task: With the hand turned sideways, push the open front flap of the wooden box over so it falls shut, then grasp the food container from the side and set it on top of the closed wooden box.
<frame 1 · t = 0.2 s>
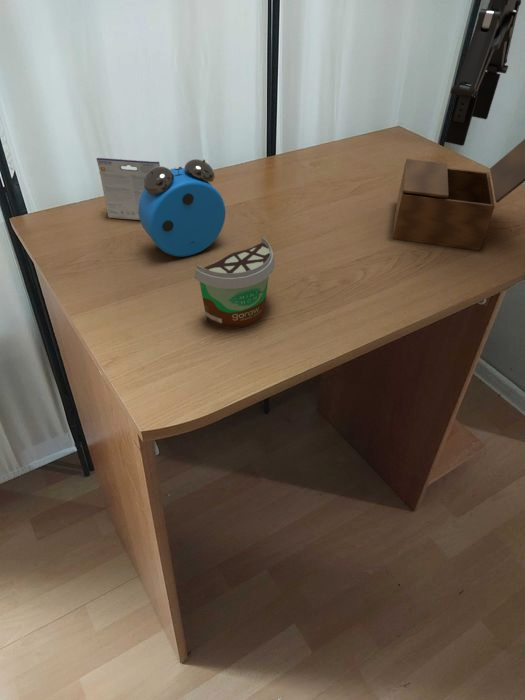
hand: (466, 129, 82), 20 cm above the table, tool pointing down, fingers open, 13 cm apart
food container: (244, 318, 79), on the table
wooden box: (435, 226, 99), on the table
alarm clock: (186, 249, 92), on the table
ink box: (139, 218, 99), on the table
flap: (512, 169, 89), point 12 cm above the table, hinge at 125.0°
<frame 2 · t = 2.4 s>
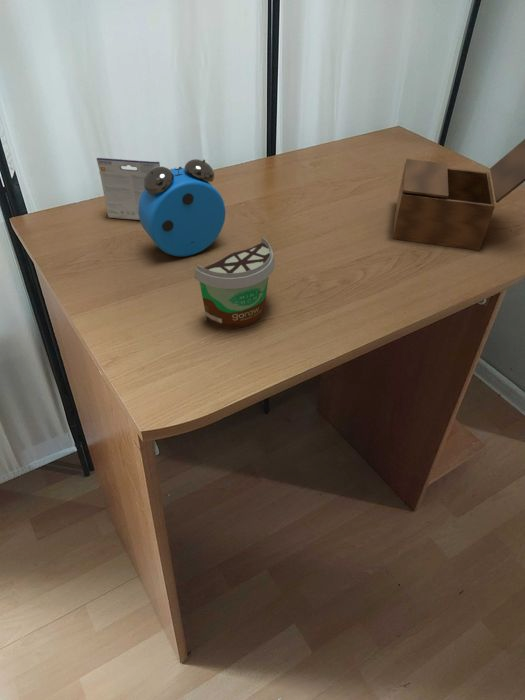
nothing on the table moved.
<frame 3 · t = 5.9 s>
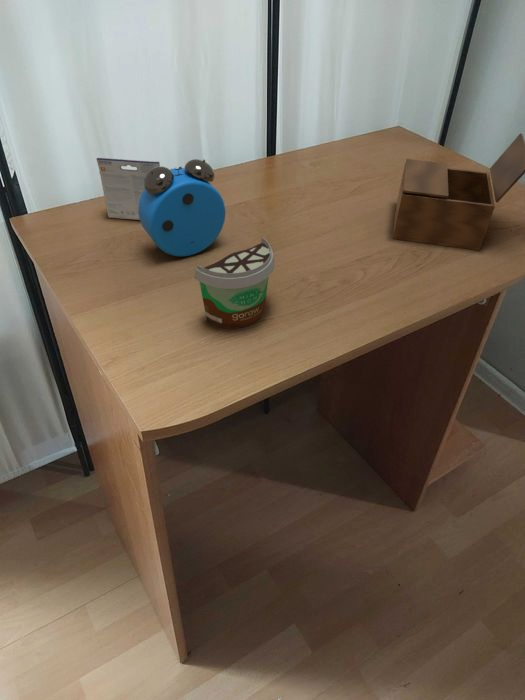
flap: (509, 167, 89), point 13 cm above the table, hinge at 114.5°, touching gripper
everything else where it was.
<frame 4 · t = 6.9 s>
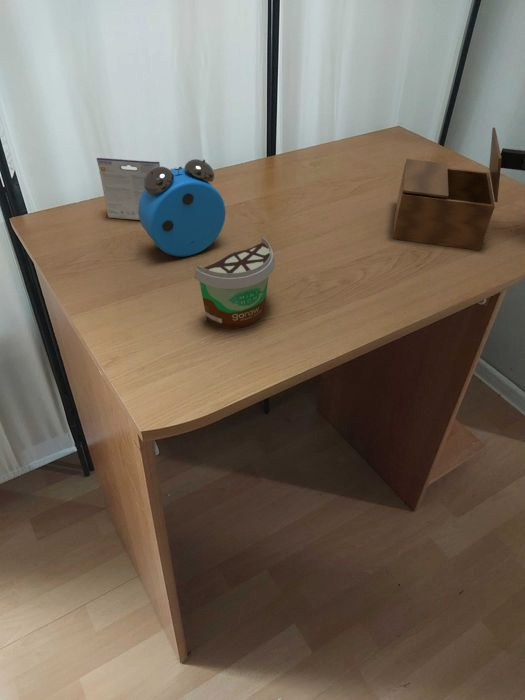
hand: (500, 158, 89), 14 cm above the table, tool horizontal, fingers closed
flap: (494, 163, 89), point 13 cm above the table, hinge at 77.5°, touching gripper
everything else where it was.
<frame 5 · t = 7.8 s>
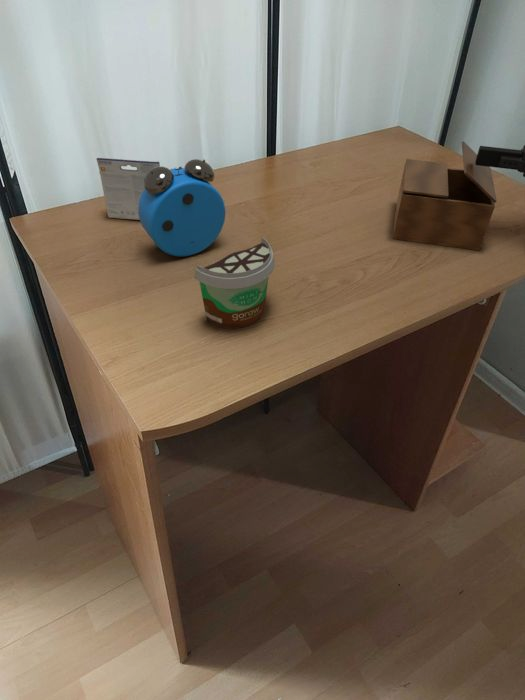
hand: (477, 155, 89), 14 cm above the table, tool horizontal, fingers closed
flap: (478, 170, 91), point 11 cm above the table, hinge at 35.7°, touching gripper
everything else where it was.
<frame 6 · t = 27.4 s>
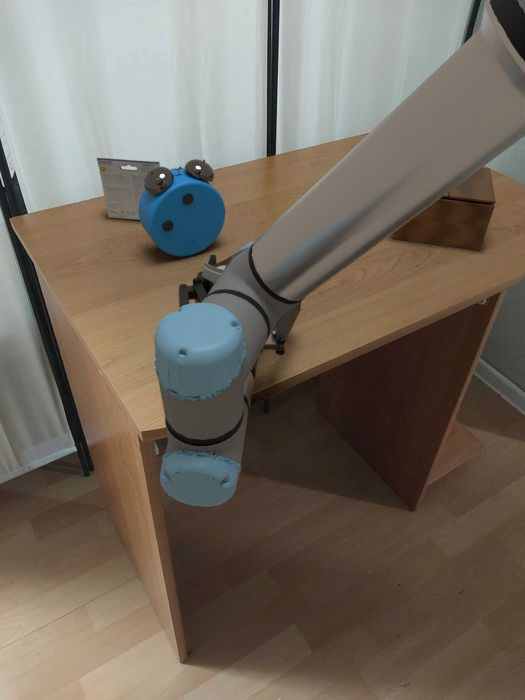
hand: (247, 265, 78), 6 cm above the table, tool horizontal, fingers closed on food container, 9 cm apart
food container: (251, 316, 79), on the table, touching gripper
flap: (470, 182, 92), point 9 cm above the table, hinge at -0.2°
everything else where it was.
when the fingers open (15 cm above the table, at t = 38.1 s): food container stays where it is, resting on wooden box.
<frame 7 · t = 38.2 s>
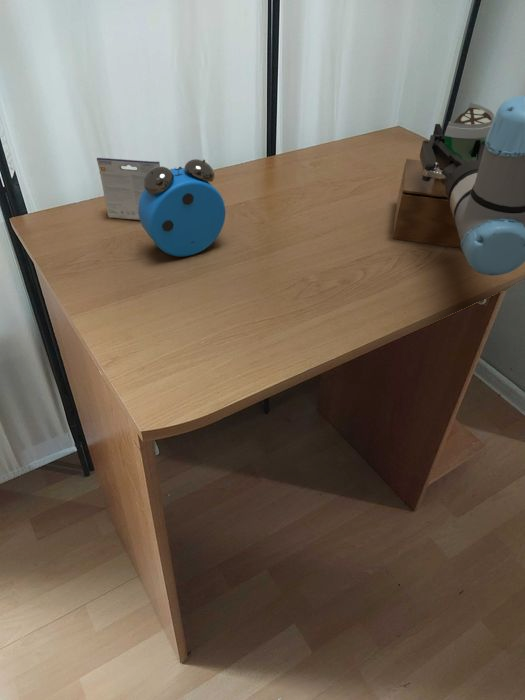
hand: (452, 132, 92), 15 cm above the table, tool horizontal, fingers open, 5 cm apart
food container: (460, 175, 94), point 9 cm above the table, touching wooden box
flap: (470, 183, 92), point 9 cm above the table, hinge at -1.4°
everything else where it was.
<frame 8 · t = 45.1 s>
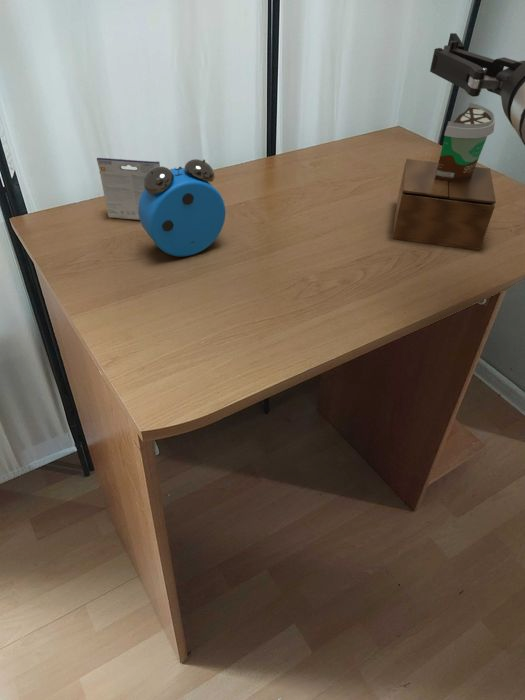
hand: (503, 47, 70), 32 cm above the table, tool horizontal, fingers open, 13 cm apart
food container: (460, 175, 94), point 9 cm above the table, touching wooden box, flap
flap: (470, 182, 92), point 9 cm above the table, hinge at -0.9°, touching food container
everything else where it was.
at the end: flap at -1° (first picture: +125°); food container inside the target area in the wooden box (3.3 cm from its centre), point 9.1 cm above the wooden box's base; food container tilted 1° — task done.
